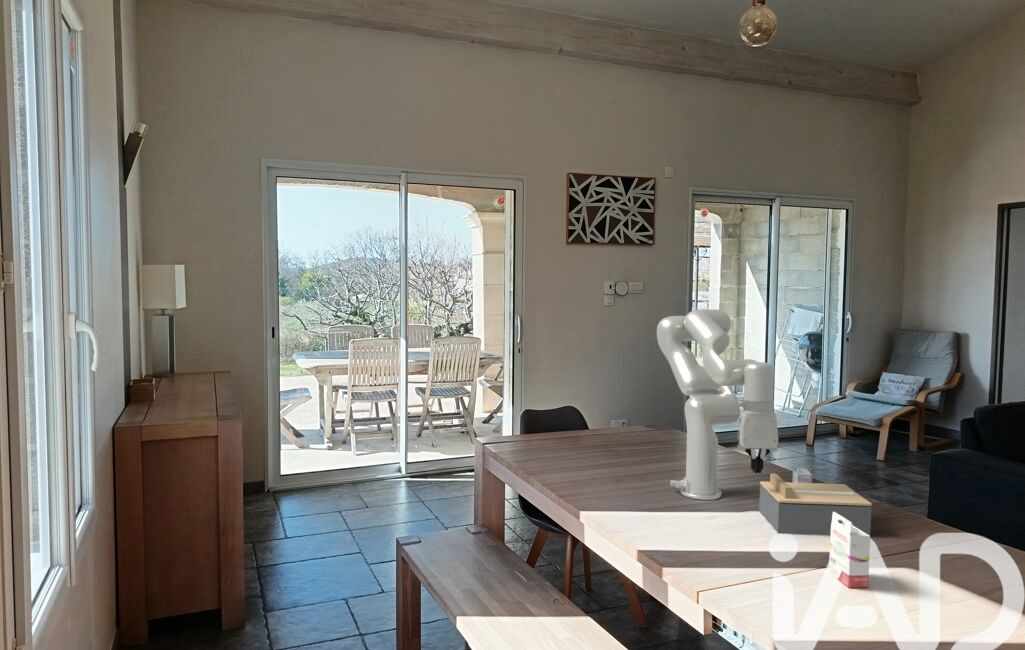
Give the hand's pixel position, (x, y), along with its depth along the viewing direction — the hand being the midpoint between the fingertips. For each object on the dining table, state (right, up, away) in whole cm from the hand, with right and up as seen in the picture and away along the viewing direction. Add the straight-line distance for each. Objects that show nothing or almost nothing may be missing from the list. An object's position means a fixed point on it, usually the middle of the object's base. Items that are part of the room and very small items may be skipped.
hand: (756, 472), depth 197 cm
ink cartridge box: (+8, -17, -37) cm, 42 cm away
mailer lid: (+16, -6, 0) cm, 17 cm away
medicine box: (+22, -13, +24) cm, 35 cm away
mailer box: (+16, -15, 0) cm, 21 cm away
